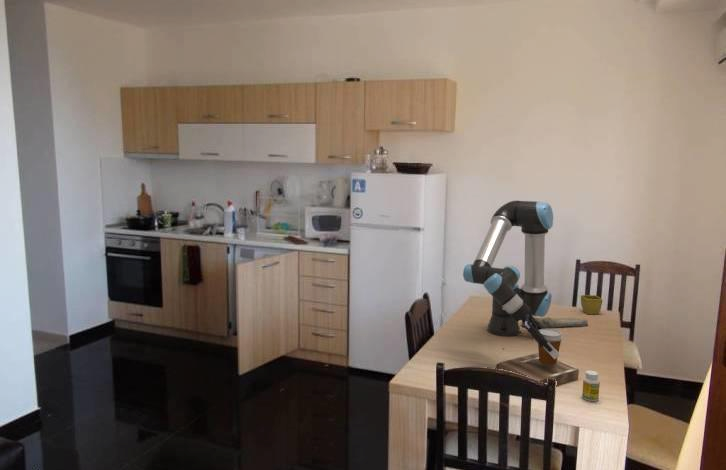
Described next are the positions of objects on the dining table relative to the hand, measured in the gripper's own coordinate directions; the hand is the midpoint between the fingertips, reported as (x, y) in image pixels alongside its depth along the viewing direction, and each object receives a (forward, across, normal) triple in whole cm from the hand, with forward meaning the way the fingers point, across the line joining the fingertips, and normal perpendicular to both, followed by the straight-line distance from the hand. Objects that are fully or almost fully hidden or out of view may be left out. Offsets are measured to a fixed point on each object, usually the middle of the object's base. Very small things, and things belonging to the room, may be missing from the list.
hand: (557, 352), depth 208 cm
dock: (+2, +1, -12) cm, 12 cm away
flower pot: (+20, -98, +6) cm, 100 cm away
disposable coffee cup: (+1, 0, -6) cm, 6 cm away
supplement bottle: (+15, +15, +1) cm, 22 cm away
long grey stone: (+8, -68, -7) cm, 69 cm away
